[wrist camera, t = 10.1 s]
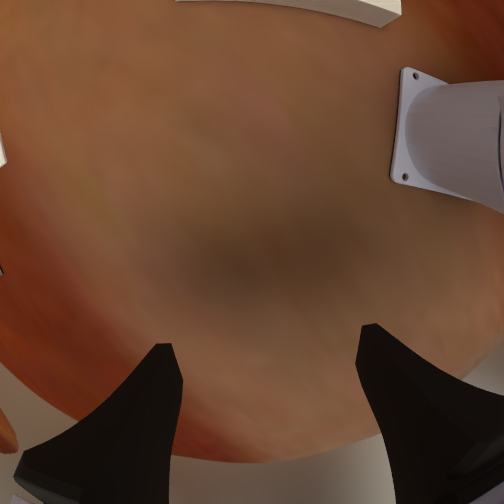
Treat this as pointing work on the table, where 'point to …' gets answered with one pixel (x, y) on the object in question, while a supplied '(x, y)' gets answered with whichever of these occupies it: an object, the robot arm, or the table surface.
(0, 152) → the teal sliding drawer box
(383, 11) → the socket block
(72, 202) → the table surface
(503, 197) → the robot arm
